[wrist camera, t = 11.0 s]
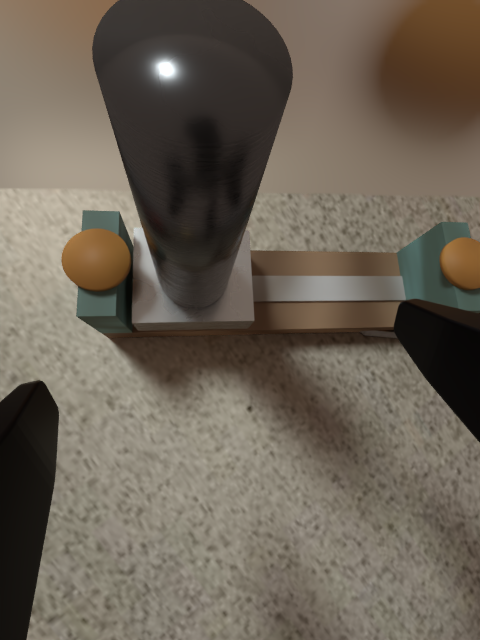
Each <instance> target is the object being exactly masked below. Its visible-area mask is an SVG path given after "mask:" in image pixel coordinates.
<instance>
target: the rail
mask: <svg viewBox="0 0 480 640" xmlns="http://www.w3.org/2000/svg"><path fill="white" fill-rule="evenodd" d="M133 250H134V247H133V245H132V242H131V240H130V237H129V235H128V232H127V230H126V227H125V225H124V222H123V220H122V217H121V215H120V212H116V211H85V210H83V216H82V232H80V233H78V234H76V235H75V236H73V237H72V238H71V239H70V240H69V241H68V242H67V244H66V246H65V248H64V250H63V253H62V266H63V269H64V271H65V273H66V275H67V276H68V277H69V278H70V280H71V281H73V282H74V283H75V284H76V285H77V286H78V298H77V314H76V316H77V317H78V318H80V319H81V320H83V321H84V322H86V323H87V324H89V325H90V326H92V327H93V328H95V329H96V330H98V331H99V332H101V333H102V334H104V335H105V336H107V337H108V338H123V337H165V336H206V335H248V334H290V333H332V332H360V331H373V330H394V328H393V327H394V322H395V318H396V313H397V309H398V305H399V304H400V303H401V302H402V301H405V300H409V299H421V300H425V301H429V302H433V303H438V304H442V305H446V306H450V307H454V308H458V309H462V310H467V311H471V312H475V313H480V243H479V242H478V241H476V240H474V239H471V237H470V232H469V228H468V223H460V222H441V223H439V224H438V225H436V226H435V227H433V228H432V229H430V230H429V231H428V232H426V233H425V234H423V235H422V236H420V237H419V238H417V239H416V240H414V241H413V242H412V243H410V244H409V245H407V246H406V247H404V248H403V249H401V250H400V251H399V252H397V253H377V252H314V251H250V254H251V271H252V288H253V304H254V322H253V323H252V324H251V325H250V327H249V328H245V329H197V330H150V331H138V330H137V328H136V327H135V326H134V325H133V324H132V293H133Z"/></svg>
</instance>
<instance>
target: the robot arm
mask: <svg viewBox="0 0 480 640" xmlns="http://www.w3.org/2000/svg"><path fill="white" fill-rule="evenodd" d="M393 328H394V333H395V335H396V337H397V338H398V340H399V341H400V342H401V344H402V345H403V347H404V348H405V350H406V351H407V353H408V354H409V355H410V357H411V358H412V360H413V361H414V363H415V364H416V366H417V367H418V369H419V370H420V371H421V373H422V374H423V376H424V377H425V378H426V380H427V381H428V382H429V383H430V384H431V386H432V387H433V388H434V389H435V390H436V392H437V393H438V394H439V395H440V396H441V398H442V399H443V400H444V401H445V402H446V403H447V405H448V406H449V407H450V408H451V409H452V410H453V412H454V413H455V414H456V415H457V416H458V418H459V419H460V420H461V421H462V422H463V423H464V425H465V426H466V427H467V428H468V429H469V431H470V432H471V433H472V434H473V435H474V436H475V438H476V439H477V440H478V441H479V442H480V314H479V313H475V312H471V311H467V310H462V309H458V308H454V307H450V306H446V305H442V304H438V303H433V302H429V301H425V300H421V299H409V300H405V301H402V302H401V303H400V304H399V305H398V309H397V313H396V318H395V322H394V327H393ZM58 423H59V411H58V407H57V404H56V403H55V401H54V399H53V397H52V395H51V393H50V392H49V390H48V388H47V386H46V385H45V383H44V382H43V381H40V380H37V381H33V382H28V383H24V384H21V385H19V386H18V387H17V388H15V389H14V390H13V391H12V392H11V393H10V394H9V395H8V396H6V397H5V398H4V399H3V400H2V401H1V402H0V640H26V639H27V633H28V628H29V622H30V617H31V611H32V606H33V600H34V595H35V589H36V584H37V578H38V572H39V567H40V561H41V556H42V550H43V545H44V539H45V534H46V528H47V523H48V517H49V512H50V506H51V501H52V495H53V489H54V483H55V473H56V458H57V441H58Z"/></svg>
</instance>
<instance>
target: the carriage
mask: <svg viewBox="0 0 480 640" xmlns="http://www.w3.org/2000/svg"><path fill="white" fill-rule="evenodd" d="M92 50H93V62H94V67H95V71H96V75H97V78H98V81H99V84H100V88H101V91H102V95H103V98H104V101H105V105H106V108H107V111H108V115H109V118H110V121H111V125H112V128H113V131H114V135H115V138H116V141H117V145H118V148H119V151H120V154H121V158H122V161H123V164H124V168H125V171H126V174H127V178H128V181H129V185H130V188H131V191H132V195H133V198H134V201H135V205H136V208H137V211H138V215H139V218H140V221H141V225H142V228H134V250H133V293H132V324H133V325H134V326H135V327H136V328H137V330H138V331H150V330H197V329H245V328H249V327H250V325H251V324H252V323H253V322H254V304H253V288H252V271H251V254H250V238H249V231H245V229H246V226H247V223H248V220H249V217H250V214H251V211H252V208H253V205H254V202H255V199H256V196H257V192H258V189H259V186H260V183H261V180H262V177H263V174H264V171H265V168H266V165H267V161H268V159H269V155H270V152H271V149H272V146H273V143H274V140H275V136H276V134H277V130H278V128H279V124H280V122H281V118H282V115H283V112H284V109H285V106H286V103H287V100H288V97H289V93H290V90H291V85H292V78H293V73H292V63H291V58H290V55H289V52H288V49H287V47H286V45H285V43H284V41H283V39H282V37H281V36H280V34H279V33H278V31H277V30H276V28H275V27H274V26H273V25H272V24H271V22H270V21H269V20H268V19H267V18H266V17H265V16H264V15H263V14H261V13H260V12H259V11H258V10H257V9H255V8H254V7H253V6H251V5H250V4H248V3H247V2H245V1H243V0H119V1H118V2H116V3H115V4H114V5H113V6H112V7H111V8H110V9H109V10H108V11H107V12H106V14H105V15H104V16H103V17H102V19H101V21H100V23H99V25H98V27H97V29H96V32H95V35H94V40H93V47H92Z"/></svg>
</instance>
